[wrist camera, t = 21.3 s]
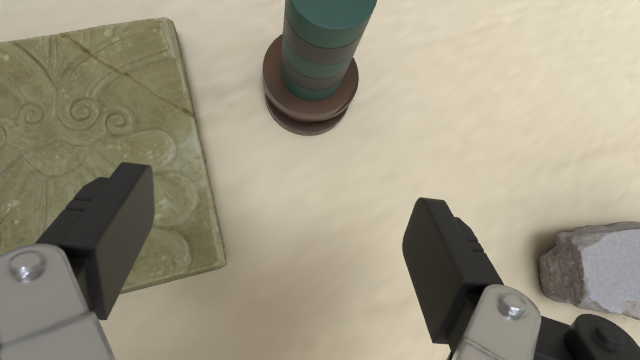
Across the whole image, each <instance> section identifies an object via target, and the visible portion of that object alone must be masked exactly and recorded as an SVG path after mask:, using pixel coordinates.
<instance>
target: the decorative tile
mask: <svg viewBox="0 0 640 360" xmlns="http://www.w3.org/2000/svg"><path fill="white" fill-rule="evenodd" d="M122 162H129V163H138V164H146V165H151V167H152V170H153V184H154V202H155V216H154V222H153V225H152V228H151V231H150V233H149V235H148V237H147V239H146V241H145V243H144V245H143V247H142V249H141V251H140V253H139V255H138V257H137V259H136V261H135V263H134V265H133V267H132V269H131V271H130V273H129V275H128V277H127V279H126V281H125V283H124V285H123V287H122V290H121V292H120V294H123V293H127V292H130V291H135V290H139V289H143V288H147V287H151V286H154V285H158V284H162V283H166V282H170V281H173V280H177V279H181V278H185V277H188V276H192V275H196V274H200V273H204V272H208V271H212V270H216V269H219V268H222V267H224V266H225V265H226V257H225V252H224V248H225V247H224V243H223V238H222V232H221V228H220V224H219V219H218V215H217V211H216V207H215V204H214V198H213V192H212V190H211V187H210V182H209V177H208V174H207V170H206V162H205V158H204V153H203V150H202V147H201V142H200V138H199V133H198V129H197V124H196V120H195V114H194V109H193V105H192V100H191V95H190V91H189V86H188V82H187V78H186V73H185V69H184V64H183V60H182V55H181V51H180V47H179V42H178V38H177V33H176V29H175V26H174V23H173V21H171V20H170V19H168V18H158V19H146V20H140V21H133V22H127V23H120V24H112V25H104V26H98V27H93V28H88V29H83V30H77V31H71V32H65V33H60V34H56V35H49V36H42V37H35V38H28V39H22V40H15V41H9V42H2V43H0V255H2V254H3V253H5V252H7V251H9V250H12V249H14V248H17V247H20V246H25V245H30V244H34V243H35V242H36V241H37V240H38V239H39V238H40V236H41V235H42V234H43V233H44V232H45V231H46V229H47V228H48V227H49V226H50V225H51V223H52V222H53V221H54V220H55V219H56V218H57V216H58V215H59V214H60V213H61V212H62V211H63V210H65V207H66V206H67V205H68V203H69V202H70V201H71V200H73V199H74V196H75V195H76V194H77V193H78V192H79V191H80V189H81V188H82V187H83V186H84V185H86V184H88V183H89V182H91V181H93V180H95V179H97V178H98V177H108V178H109V177H110V176H111V175H112V174H113V172H114V171H115V170H116V168H117V167H118V166H119V164H120V163H122Z"/></svg>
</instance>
